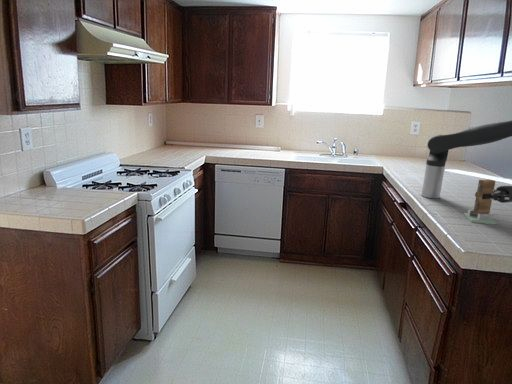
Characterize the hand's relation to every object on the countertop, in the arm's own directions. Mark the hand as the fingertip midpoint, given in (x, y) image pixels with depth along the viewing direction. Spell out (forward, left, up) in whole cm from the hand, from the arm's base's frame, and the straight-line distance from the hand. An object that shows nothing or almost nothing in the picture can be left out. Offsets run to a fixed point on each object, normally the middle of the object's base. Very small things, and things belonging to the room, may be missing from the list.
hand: (479, 195), depth 176 cm
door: (-1, +3, -8) cm, 9 cm away
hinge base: (-1, +2, -11) cm, 12 cm away
